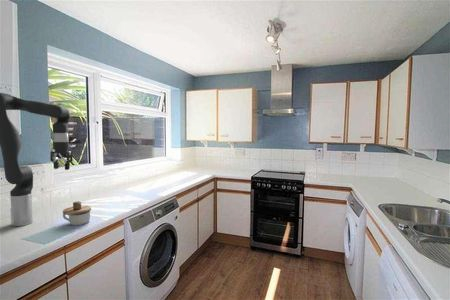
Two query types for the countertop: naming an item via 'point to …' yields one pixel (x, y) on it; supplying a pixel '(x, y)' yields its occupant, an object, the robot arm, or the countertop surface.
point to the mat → (48, 235)
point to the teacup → (78, 218)
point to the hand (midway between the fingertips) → (61, 169)
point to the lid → (76, 209)
